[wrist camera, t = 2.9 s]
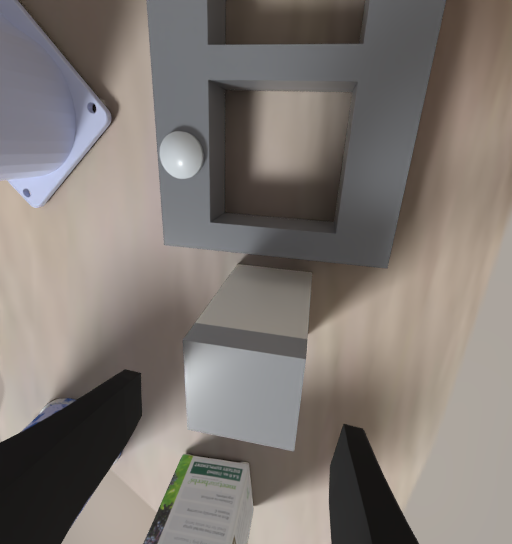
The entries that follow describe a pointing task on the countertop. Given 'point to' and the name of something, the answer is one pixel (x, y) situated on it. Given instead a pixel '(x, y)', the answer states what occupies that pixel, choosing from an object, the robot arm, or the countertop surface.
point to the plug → (250, 357)
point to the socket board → (289, 77)
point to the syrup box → (205, 504)
